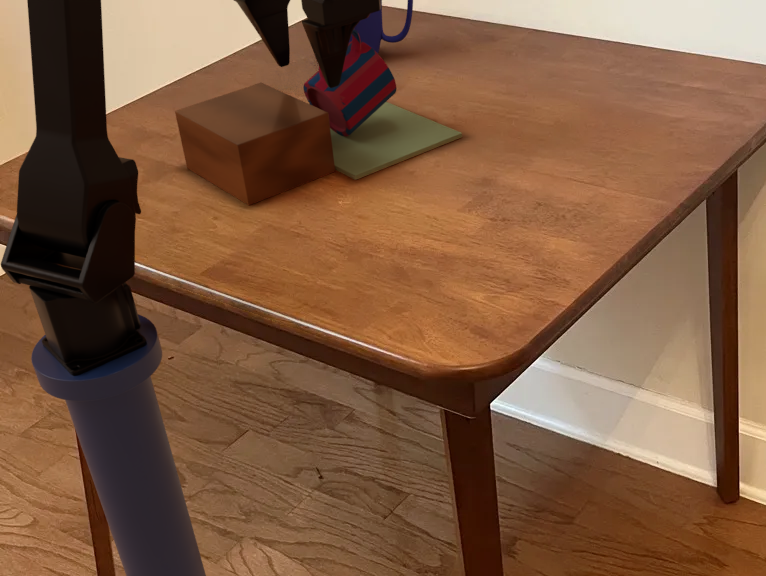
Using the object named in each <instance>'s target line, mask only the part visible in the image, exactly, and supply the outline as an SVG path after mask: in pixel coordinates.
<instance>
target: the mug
mask: <svg viewBox="0 0 766 576" xmlns="http://www.w3.org/2000/svg"><path fill="white" fill-rule="evenodd" d="M380 1H381V9H380V11H377V12H374V13H370V15H369V17H368V18H366V19H363V20H360V22H359V23H358V24H357V25H356V27H355V28H354V29H355V30H356V31H357V32H358V34H359V36H360V40H361V41H362V42H364V43H366V44H367V45H369V46H370V47H371V48H372V49H373V50H375V51H376V52H377V53H378V54H379V52H380V48H381V42H382V41H384V42H386V43H392V44H394V43H399V42H402V41H403V40H404V39H405V38H406V37H407V36H408V34H409V32H410V28H411V25H412V19H413V12H414V11H413V10H414V8H413V7H414V0H407V6H406V17H405V22H404V25H403V28H402V30H401V31H400V32H399V33H398V34H396V35H387V34H386V33H385V32H384V28H383V0H380ZM351 41H352V34H351V37H350V40H349V43H350V42H351Z"/></svg>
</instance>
